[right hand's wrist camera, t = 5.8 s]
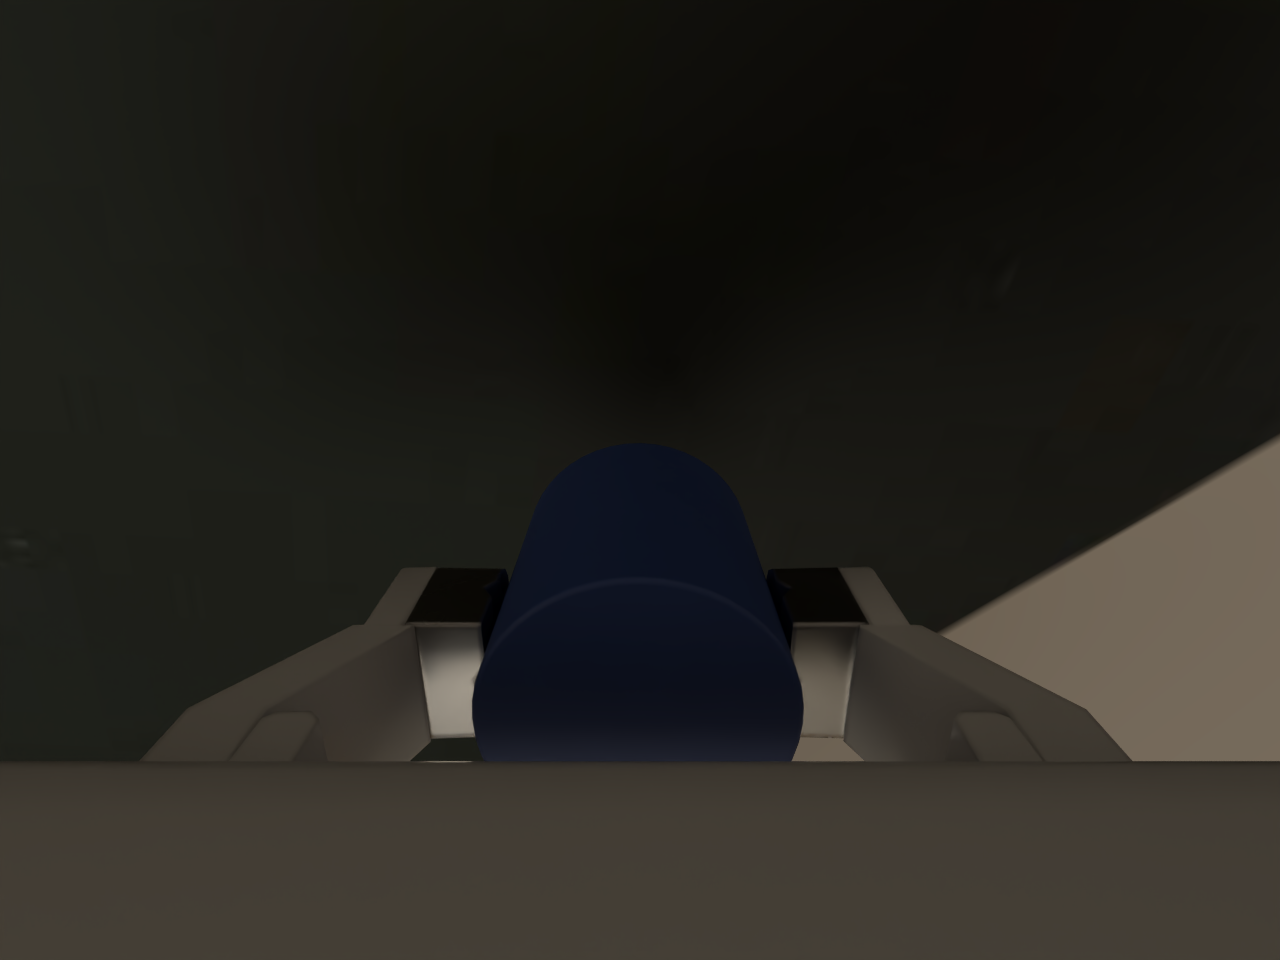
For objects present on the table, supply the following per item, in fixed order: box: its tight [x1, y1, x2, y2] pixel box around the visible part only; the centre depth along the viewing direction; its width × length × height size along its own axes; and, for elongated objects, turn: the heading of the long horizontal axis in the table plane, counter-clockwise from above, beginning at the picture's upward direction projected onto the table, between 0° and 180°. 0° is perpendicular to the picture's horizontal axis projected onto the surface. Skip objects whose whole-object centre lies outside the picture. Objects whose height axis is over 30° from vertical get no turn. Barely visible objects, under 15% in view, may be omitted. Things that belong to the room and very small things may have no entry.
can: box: [472, 443, 804, 761], centre depth 10 cm, size 4×4×5 cm
